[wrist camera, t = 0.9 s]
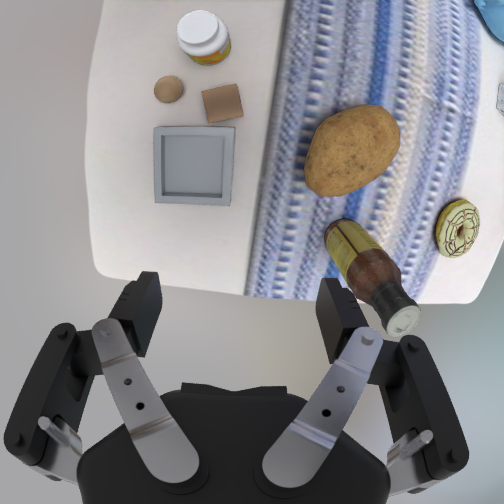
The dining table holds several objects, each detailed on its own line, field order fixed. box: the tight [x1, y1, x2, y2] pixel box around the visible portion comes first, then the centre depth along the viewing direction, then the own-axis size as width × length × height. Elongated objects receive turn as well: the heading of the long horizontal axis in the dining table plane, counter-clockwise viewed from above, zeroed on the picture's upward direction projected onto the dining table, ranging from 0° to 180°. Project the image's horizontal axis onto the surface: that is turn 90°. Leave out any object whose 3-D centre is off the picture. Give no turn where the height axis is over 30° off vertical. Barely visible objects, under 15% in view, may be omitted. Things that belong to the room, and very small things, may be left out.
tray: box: [154, 126, 235, 206], centre depth 33 cm, size 10×10×2 cm
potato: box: [304, 104, 400, 196], centre depth 30 cm, size 10×14×8 cm
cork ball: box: [154, 76, 183, 103], centre depth 28 cm, size 4×4×4 cm
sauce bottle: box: [325, 219, 421, 337], centre depth 31 cm, size 7×6×20 cm
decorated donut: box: [436, 200, 480, 258], centre depth 38 cm, size 10×11×4 cm
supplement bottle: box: [177, 10, 231, 65], centre depth 23 cm, size 5×5×10 cm
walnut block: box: [202, 84, 244, 123], centre depth 29 cm, size 4×4×4 cm
